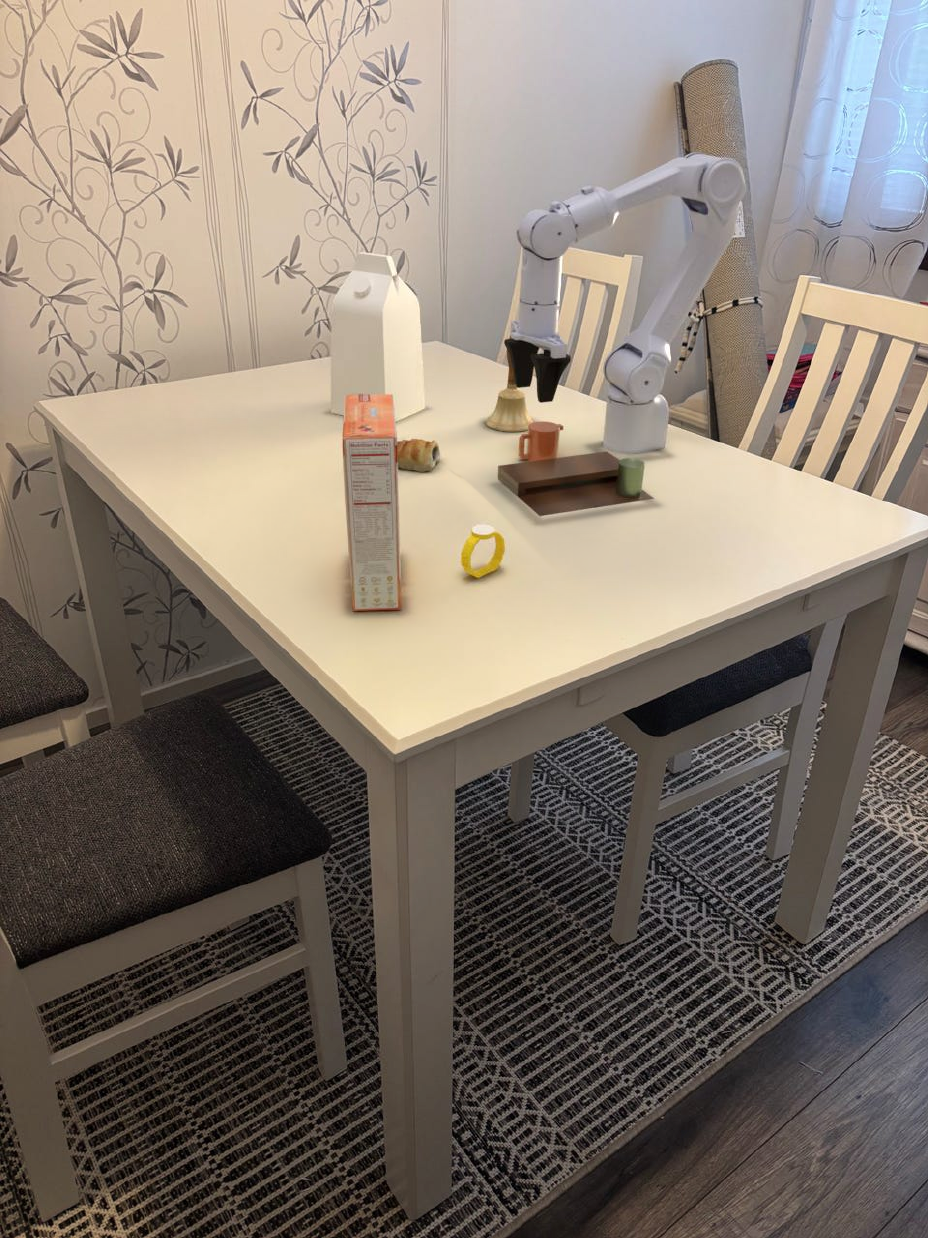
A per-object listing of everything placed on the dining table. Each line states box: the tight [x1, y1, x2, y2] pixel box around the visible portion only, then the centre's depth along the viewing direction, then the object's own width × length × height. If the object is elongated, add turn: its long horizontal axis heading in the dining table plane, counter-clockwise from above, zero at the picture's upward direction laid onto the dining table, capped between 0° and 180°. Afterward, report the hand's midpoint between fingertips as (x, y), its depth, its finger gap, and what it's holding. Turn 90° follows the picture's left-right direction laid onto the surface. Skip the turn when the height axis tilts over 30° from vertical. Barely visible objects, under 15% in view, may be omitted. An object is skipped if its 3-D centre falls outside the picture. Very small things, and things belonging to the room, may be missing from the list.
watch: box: [460, 524, 506, 579], centre depth 116 cm, size 6×3×6 cm, turn 132°
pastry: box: [397, 438, 441, 472], centre depth 148 cm, size 9×7×4 cm
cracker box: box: [342, 394, 403, 612], centre depth 110 cm, size 14×6×21 cm, turn 5°
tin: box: [616, 457, 646, 497], centre depth 137 cm, size 4×4×4 cm
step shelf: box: [497, 451, 655, 517], centre depth 139 cm, size 18×14×3 cm
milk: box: [330, 251, 426, 423], centre depth 164 cm, size 12×12×26 cm
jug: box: [518, 421, 564, 462], centre depth 148 cm, size 7×5×6 cm
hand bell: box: [485, 334, 534, 433], centre depth 161 cm, size 8×8×16 cm
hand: (534, 393), depth 146 cm, fingers open, 7 cm apart
